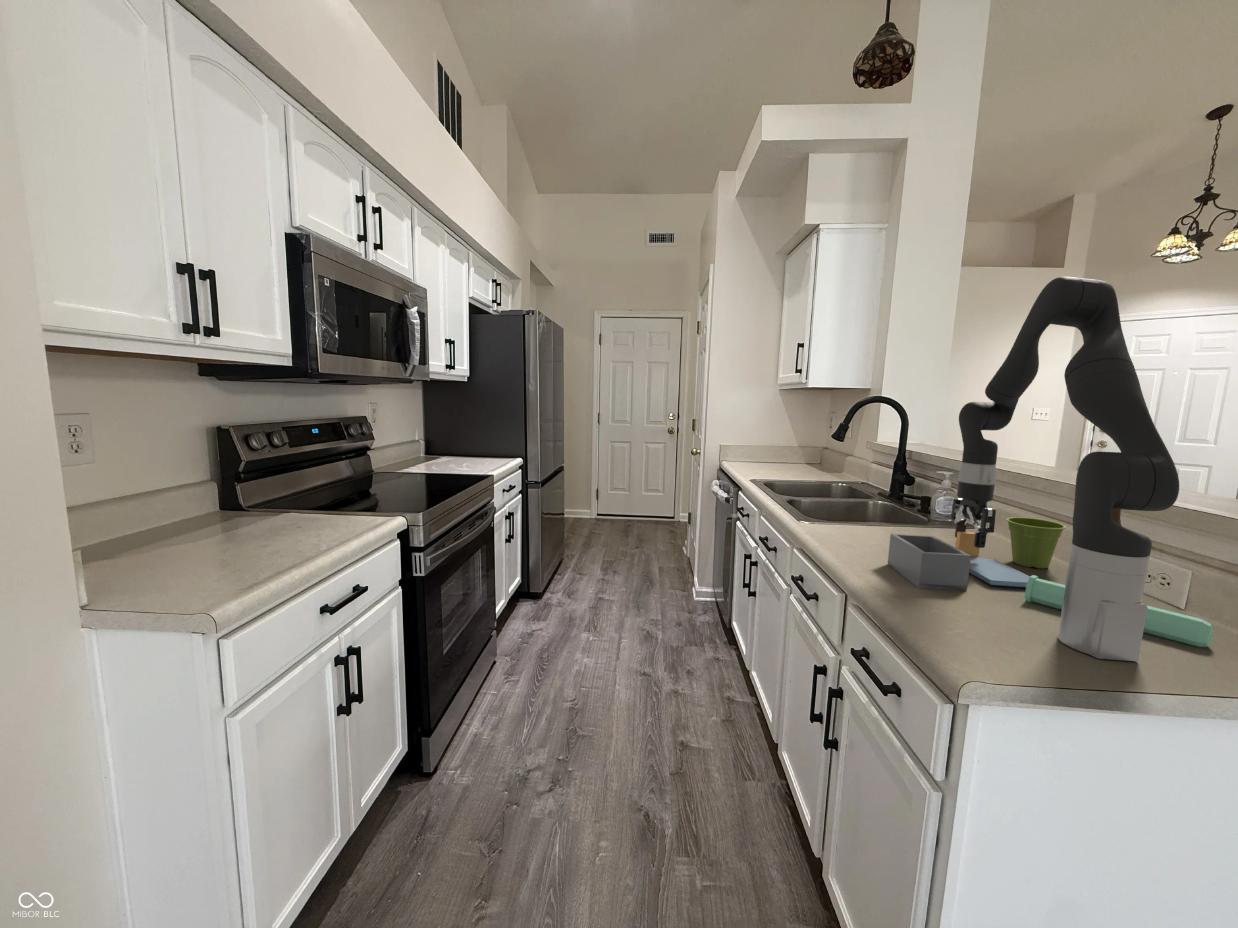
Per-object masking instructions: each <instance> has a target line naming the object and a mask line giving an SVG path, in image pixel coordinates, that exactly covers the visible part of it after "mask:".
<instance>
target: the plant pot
mask: <svg viewBox="0 0 1238 928" xmlns="http://www.w3.org/2000/svg"><path fill="white" fill-rule="evenodd" d="M1005 521H1006V522H1007V523H1008V530H1009V533H1010V544H1011V547H1010V548H1011V557H1012V561H1013V562H1014V563H1015V564H1016V565H1019V566H1023V567H1026V568H1031V567H1033V568H1035V569H1039V570H1040V569H1041V570H1042V569H1047V568H1049V567H1050V565H1051V561H1052V559H1053V555H1054V553H1055V550H1056V547H1057V544H1058V541H1059V538H1060V537H1061V536H1062V533H1063V531H1064V530H1065V529H1066V528H1067V526H1066V525H1065V524H1063V523H1060V522H1057V521H1052V520H1047V519H1041V518H1033V517H1019V516H1017V517H1016V516H1013V517H1007V518H1005Z"/></svg>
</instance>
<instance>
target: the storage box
mask: <svg viewBox="0 0 1238 928" xmlns="http://www.w3.org/2000/svg"><path fill="white" fill-rule="evenodd" d="M889 535H890V536H889V545H888V546H889V547H888V557H887V566H889V565H890V566H891V567H890V566H889V567H890V568H891V569H894V571H896V573H898V574H899V575H901V576H902V577H904V578H905V579H907V580H908V581H909V582H910V583H911V584H913V585H914V586H916V587H917V588H919V589H930V590H931V589H932V590H945V591H961V592H963V591H964V592H965V591H966V592H967V591H968V583H969V574H970V572H969V568H970V560H971V555H969V554H967V553H965V552H963V551H961V550H959V549H957V548H955V547H956V546H953V545H951V544H949V543H947V542H945V541H944V540H941V539H940V538H938V537H936V536H934V535H922V534H921V535H920V534H907V533H906V534H903V533H890V534H889Z"/></svg>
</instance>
